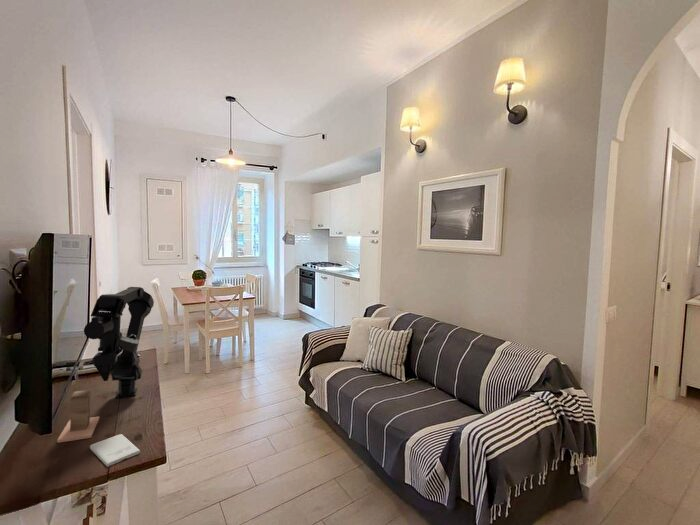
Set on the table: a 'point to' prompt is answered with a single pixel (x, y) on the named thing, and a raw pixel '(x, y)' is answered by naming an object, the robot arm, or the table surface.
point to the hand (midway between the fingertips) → (108, 375)
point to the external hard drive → (114, 449)
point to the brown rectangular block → (80, 410)
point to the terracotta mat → (77, 435)
